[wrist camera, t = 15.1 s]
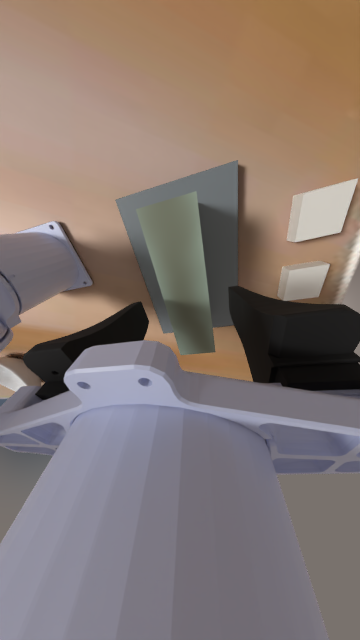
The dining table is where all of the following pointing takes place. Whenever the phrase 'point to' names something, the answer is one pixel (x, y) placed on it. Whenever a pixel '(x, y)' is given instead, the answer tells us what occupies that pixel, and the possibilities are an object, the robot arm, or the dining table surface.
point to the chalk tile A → (302, 280)
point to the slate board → (216, 229)
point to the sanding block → (180, 269)
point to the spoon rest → (16, 374)
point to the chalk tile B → (320, 211)
